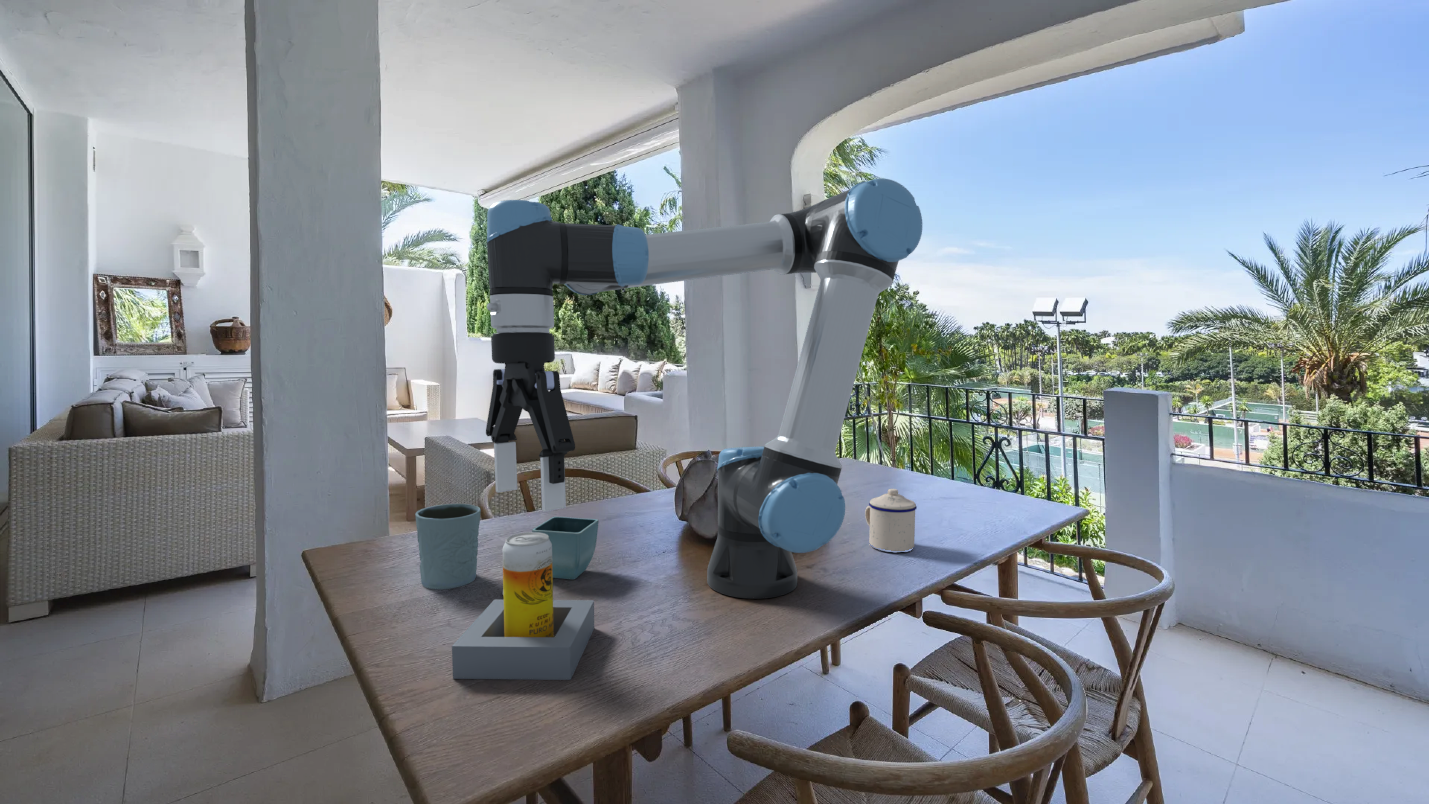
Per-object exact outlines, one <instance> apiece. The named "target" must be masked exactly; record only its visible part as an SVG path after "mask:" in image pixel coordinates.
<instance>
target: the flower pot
mask: <svg viewBox="0 0 1429 804" xmlns="http://www.w3.org/2000/svg"><path fill="white" fill-rule="evenodd" d="M599 523H600V521H599V519H596V518H582V517H581V518H580V517H570V516H569V517H568V516H552V517H550V518H549V519H547V520H545V521H543V522H542V523H541V524H539V525H537V526H536V527H534V528H532V529H531V532H539V533H544V534H547V535H548V536H549V540H550V542H551V544H552V572H553V579H563V580H564V579H565V580H576V579H577V578H578V577H579V576H580V575H582V574H583V573H584V572H585V571H586V570H587V569H588V567H589V564H590V563H591V561H592V558H593V556H594V554H595V551H596V546H597V539H598V530H599Z"/></svg>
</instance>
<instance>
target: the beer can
mask: <svg viewBox="0 0 1429 804" xmlns="http://www.w3.org/2000/svg"><path fill="white" fill-rule="evenodd" d="M553 579H554V578H553V572H552V544H551V542H550V540H549V536H548V535H547V534H544V533H539V532H532V531H530V532H529V531H528V532H519V533H516V534H512V535H509V536H508V537H506V538H505V542H504V544H503V547H502V588H503V589H502V592H503V594H502V595H503V600H504V636H505V637H555V636H554V629H553V600H554V592H553V591H554V589H553V587H554V584H553V583H554V581H553Z"/></svg>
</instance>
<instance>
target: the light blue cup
mask: <svg viewBox="0 0 1429 804" xmlns="http://www.w3.org/2000/svg"><path fill="white" fill-rule="evenodd" d="M481 512H482V511H481V508H480V507H479V506H477V505H474V504H468V503H448V504H447V503H446V504H445V503H444V504H438V505H436V504H435V505H432V506H428V507H423V508H421V509H418V510H417V511H416V512H415V514H414V515H415V523H416V524H415V525H416V531H417V532H416V533H417V534H416V535H417V543H418V552H419V553H418V555H419V560H420V565H419V571H420V582H421V585H422V586H423V587H424V588H426V589H430V590H449V589H454V588H459V587H463V586H466V585H469V584H470V583H472V582H474V581H475V580H476V577H477V569H478V568H477V566H478V554H479V553H478V552H479V551H478V550H479V548H478V547H479V528H480V523H481Z"/></svg>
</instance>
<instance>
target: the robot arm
mask: <svg viewBox="0 0 1429 804" xmlns="http://www.w3.org/2000/svg"><path fill="white" fill-rule="evenodd" d="M486 214H487V215H486V216H487V217H486V218H487V219H486V220H487V222H486V223H487V224H486V225H487V226H486V227H487V228H486V233H487V234H486V250H487V266H488V268H487V269H488V286H489V287H488V288H489V303H487V304H486V309H487V310H488V311H490V326H491V328H492V329H494V330H496V333H492V335H491V336H490V340H491V341H490V344H491V360H492V362H493V363H495V364H501V365H502V364H504V368H499V369H498V368H497V369H496V368H495V369H493V371H492V391H491V396H490V403H489V410H488V415H487V420H486V426H485V435H486V436H487V437H490V440H491V442H492V443H493V452H494V458H493V459H494V475H495V477H494V478H495V479H494V481H495V482H494V483H495V492H496V493H504V492H509V491H516V490H518V472H517V471H518V470H517V465H518V464H517V445H516V441H517V440H518V438H517V436H516V434H515V432H516V429H517V426H518V423H519V421H520V417H521V415H522V412H523V411H525V412H527V413H528V415H529V417H530V421H531V423H532V426H533V428H534V430H535V433H536V435H537V439H538V441H539V444H540V446H541V451H540V452H539V454H538V457H539V459H540V461H539V462H540V485H541V487H540V488H541V489H540V490H541V491H540V492H541V493H540V494H541V511H542V512H544V513H547V512H552V511H556V510H562V509H567V506H566V505H567V503H566V501H567V499H566V497H567V496H566V473H565V472H566V471H565V470H566V469H565V466H566V465H565V464H566V463H565V456H566V455H567V454H568V453H569V452H574V451H575V450H576V442H575V439H574V436H573V432H572V431H573V430H572V427H571V424H570V421H569V416H568V413H567V409H566V406H565V402H564V398H563V394H562V390H561V379H560V378H561V377H560V373H559V371H558V370H548V371H546V370H545V368H546V367H545V364H546V363H547V364H548V363H549V364H550V363H553V362H554V361H555V359H556V356H555V353H556V349H555V335H553V333H551V332H550V330H551V329H553V328H554V327H555V316H554V315H555V311H554V309H555V308H554V294H553V293H554V292H553V285H554V284H559V285H565V286H566V287H567V288H568V290H570V291H571V292H572V293H576V294H577V295H582V296H593V295H597V294H598V293H601V292H609V291H616V290H618V291H619V290H623V289H629V288H638V287H646V286H653V285H662V284H669V283H675V282H677V283H678V282H684V281H691V280H692V281H693V280H701V279H708V278H715V277H716V278H717V277H723V276H733V275H740V274H746V273H747V274H748V273H749V274H750V273H756V272H758V273H759V272H761V271H762V272H763V271H772V270H774V271H775V273H776V274H779V275H782V276H783V275H790V274H801V273H802V274H806V273H807V274H810V273H811V274H813V273H816V274H817V276H818V278H819V279H820V282H819V285H818V289H817V293H816V297H815V301H814V304H813V308H812V311H811V314H810V318H809V321H808V325H807V330H806V333H805V337H804V341H803V343H802V347H801V352H800V354H799V355H800V356H799V358H798V362H797V365H796V366H797V367H796V369H795V373H794V377H793V380H792V384H791V388H790V390H789V395H788V399H787V402H786V404H785V405H786V406H785V410H784V414H783V416H782V420H781V424H780V428H779V431H778V434H777V436H776V437H775V438H773V439H772V440H770V441H768V442H766V443H765V444H764V446H763V445H762V446H760V445H759V446H742V447H741V446H739V447H729V448H724V449H722V450H721V451H720V452H719V454H718V459H717V460H718V462H717V463H718V464H717V467H716V471H717V539H716V541H715V543H714V547H713V550H712V553H711V556H710V558H709V562H708V565H707V570H706V571H707V573H706V575H707V577H706V579H707V580H706V582H707V585H708V586H709V587H710V588H711V589H712V590H714V591H715V592H718V593H719V594H723V595H726V596H729V597H733V598H740V599H754V600H755V599H757V600H758V599H759V600H760V599H771V598H772V599H773V598H775V597H781V596H784V595H786V594H789V593H791V592H793V591H794V590H796V588H797V586H798V569H797V566H796V561H795V559H794V556H793V553H795V554H804V553H811V552H813V551H816V550H819V549H820V548H821V547H823V546H825V545H826V544H828V543H829V542H831V541H832V539H833V538H834V537H836V535H837V533H838V532H839V530H840V529H841V527H842V525H843V522H844V521H845V520H844V519H845V516H846V500H845V497H844V495H843V493H842V490H841V488H840V486H839V485H838V483H839V479H840V475H841V472H842V469H843V465H842V463H841V461H840V459H839V457H838V456H837V453H836V449H837V446H838V444H839V443H838V442H839V439H840V436H841V432H842V428H843V424H844V420H845V417H846V413H847V409H848V406H849V402H850V398H851V395H852V391H853V389H854V384H855V380H856V377H857V373H858V370H859V366H860V363H861V358H862V355H863V351H864V348H865V344H866V341H867V337H868V335H869V330H870V325H871V323H872V318H873V314H874V311H875V307H876V304H877V301H878V298H879V297H878V296H879V295H880V293H882V292H883V291H885V290H887V289H888V288H890V287H892V285H893V282H894V278H895V275H896V273H897V269H898V263H899V261H902V260H904V259H906V258H908V257H909V256H910V255H911V254H913V252H914V251H915V250H916V248H917V247H918V245H919V243H920V241H921V238H922V235H923V217H922V216H923V215H922V213H921V209H920V206H919V205H918V204H917V202H916V200H915V197H914V195H913V194H912V193H911V191H910V190H908V188H906V187H905V186H904V185H902V183H899V182H897V181H895V180H893V179H889V178H884V177H883V178H874V179H871V180H868V181H867V180H866V181H861V182H858V183H857V184H855V185H854V186H852V187H851V188H850V189H848V190H845V191H843V192H841V193H838V194H835V195H833V196H831V197H829V198H826V199H824V200H821V201H819V202H816V203H815V204H813V205H810V206H808V207H806V208H802V209H799V210H797V211H792V212H788V213H778V214H775V215H773V216H772V217H771V218H770V221H766V222H765V221H764V222H756V223H747V224H736V225H725V226H716V227H707V228H698V229H688V230H678V231H669V232H660V233H659V232H658V233H651V234H650V233H649V234H646V233H645V231H644V230H643V229H642V228H639V227H634V226H626V225H622V224H620V223H619V224H615V225H611V224H608V225H607V224H590V223H589V224H587V223H566V222H565V223H564V222H559V221H553V217H552V216H551V210H550V208H549V206H547V205H546V204H544V203H541V202H539V201H538V202H537V201H530V200H526V199H525V200H523V199H506V200H500V201H497V202H494V203H493V204H492V205H490V207H489V208H488V210H487V213H486Z"/></svg>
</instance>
